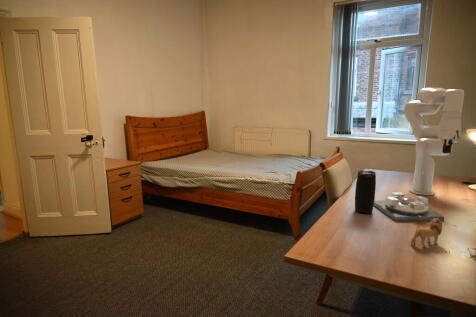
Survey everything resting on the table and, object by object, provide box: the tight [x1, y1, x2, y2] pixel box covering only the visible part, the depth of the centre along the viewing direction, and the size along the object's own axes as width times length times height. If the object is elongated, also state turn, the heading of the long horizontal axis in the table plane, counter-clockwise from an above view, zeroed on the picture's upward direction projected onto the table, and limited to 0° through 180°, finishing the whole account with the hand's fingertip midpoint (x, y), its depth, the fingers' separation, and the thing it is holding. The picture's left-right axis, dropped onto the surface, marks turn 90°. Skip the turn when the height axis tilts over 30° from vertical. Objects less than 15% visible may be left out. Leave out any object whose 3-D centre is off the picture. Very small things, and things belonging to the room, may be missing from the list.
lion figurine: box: [410, 218, 443, 249], centre depth 113 cm, size 15×5×9 cm, turn 119°
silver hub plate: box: [384, 191, 430, 215], centre depth 145 cm, size 18×18×5 cm
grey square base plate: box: [373, 200, 445, 222], centre depth 146 cm, size 22×22×2 cm
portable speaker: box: [354, 170, 377, 215], centre depth 144 cm, size 9×9×20 cm
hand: (446, 153), depth 150 cm, fingers closed
